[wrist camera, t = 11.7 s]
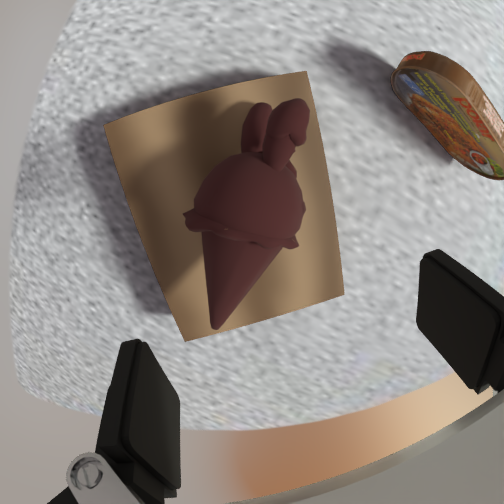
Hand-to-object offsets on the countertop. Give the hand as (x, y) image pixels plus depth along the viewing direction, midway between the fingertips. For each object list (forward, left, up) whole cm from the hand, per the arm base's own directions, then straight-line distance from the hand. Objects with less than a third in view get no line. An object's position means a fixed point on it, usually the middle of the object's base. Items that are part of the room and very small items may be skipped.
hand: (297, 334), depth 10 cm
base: (0, 0, -18) cm, 18 cm away
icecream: (0, -1, -14) cm, 14 cm away
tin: (-21, -4, -18) cm, 28 cm away
